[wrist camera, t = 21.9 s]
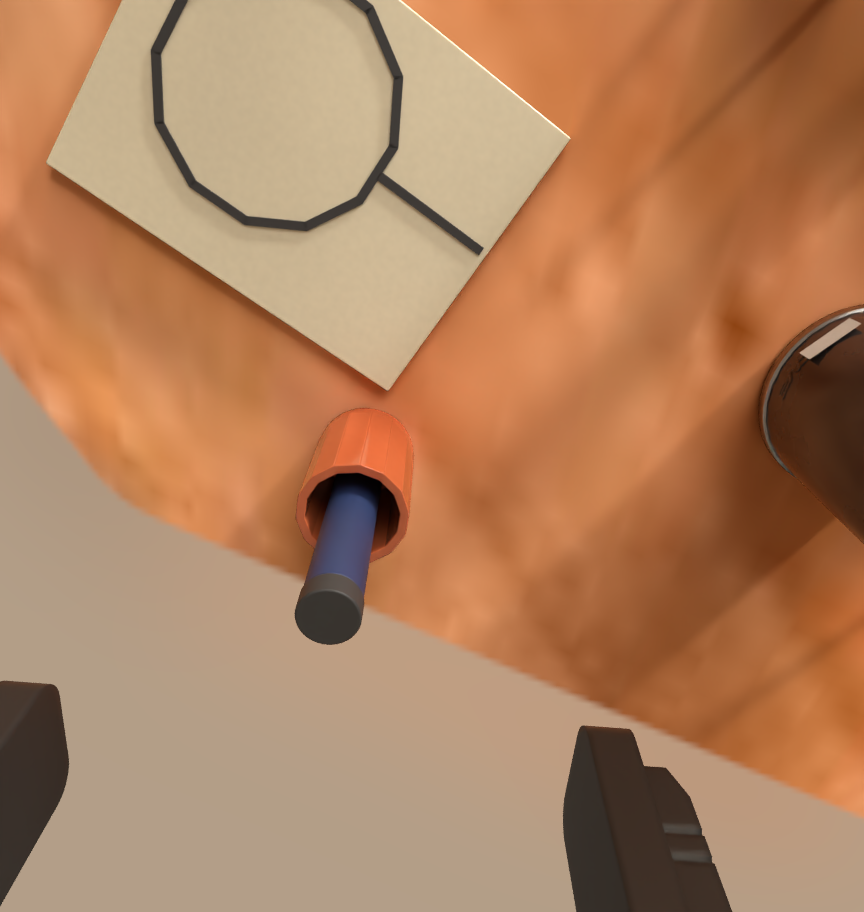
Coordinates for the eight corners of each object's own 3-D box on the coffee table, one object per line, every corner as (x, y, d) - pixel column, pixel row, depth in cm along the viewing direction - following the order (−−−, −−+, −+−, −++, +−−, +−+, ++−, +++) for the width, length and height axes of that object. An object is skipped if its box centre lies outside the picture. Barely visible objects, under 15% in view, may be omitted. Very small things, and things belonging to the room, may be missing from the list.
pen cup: (432, 440, 39) (430, 503, 32) (378, 510, 40) (367, 583, 34) (353, 388, 38) (335, 442, 31) (301, 462, 39) (274, 528, 33)
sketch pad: (569, 138, 33) (571, 138, 32) (388, 388, 37) (387, 392, 37) (203, -159, 29) (197, -166, 28) (51, 162, 33) (43, 163, 33)
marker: (395, 453, 38) (374, 611, 26) (370, 486, 39) (338, 656, 27) (357, 428, 38) (317, 578, 25) (332, 463, 38) (281, 624, 26)
